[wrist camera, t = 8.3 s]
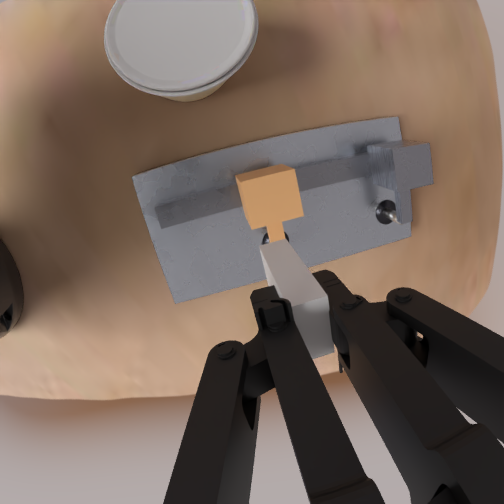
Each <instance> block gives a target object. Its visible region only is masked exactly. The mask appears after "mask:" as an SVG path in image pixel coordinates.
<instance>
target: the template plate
mask: <svg viewBox="0 0 504 504" xmlns="http://www.w3.org/2000/svg"><path fill="white" fill-rule="evenodd" d="M279 164H284V165H286V166H289V167H291V168H294V169H295V173H296V178H297V183H298V188H299V193H300V198H301V203H302V208H303V213H304V216H302V217H298V218H295V219H291V220H287V221H283V222H282V224H283V229H284V234H285V238H286V240H287V241H288V242H289V244H290V245H291V246H292V248H293V249H294V250H295V252H296V253H297V254H298V256H299V257H300V258H301V260H302V261H303V262H304V264H305V265H306V267H307V268H308V267H311V266H315V265H318V264H322V263H325V262H329V261H332V260H335V259H339V258H342V257H345V256H349V255H352V254H355V253H359V252H362V251H365V250H369V249H372V248H375V247H379V246H382V245H385V244H388V243H391V242H395V241H398V240H401V239H404V238H407V237H411V222H412V221H413V220H412V205H411V193H410V189H414V188H418V187H422V186H426V185H431V184H434V183H433V171H432V161H431V152H430V144H429V143H425V142H417V141H408V140H402V137H401V130H400V124H399V119H398V117H383V118H376V119H368V120H361V121H355V122H348V123H342V124H336V125H330V126H324V127H319V128H313V129H308V130H303V131H297V132H292V133H288V134H283V135H278V136H273V137H269V138H264V139H260V140H256V141H251V142H247V143H243V144H239V145H235V146H231V147H227V148H223V149H219V150H215V151H212V152H208V153H204V154H201V155H197V156H193V157H190V158H186V159H183V160H180V161H176V162H173V163H170V164H166V165H163V166H160V167H157V168H153V169H150V170H147V171H144V172H141V173H138V174H135V175H134V176H132V180H133V184H134V187H135V190H136V193H137V197H138V200H139V203H140V206H141V209H142V212H143V215H144V218H145V221H146V224H147V227H148V230H149V233H150V236H151V239H152V242H153V245H154V248H155V251H156V253H157V256H158V259H159V262H160V265H161V267H162V270H163V273H164V275H165V278H166V281H167V283H168V286H169V289H170V291H171V294H172V296H173V299H174V302H175V304H176V303H180V302H184V301H188V300H192V299H196V298H199V297H203V296H207V295H211V294H214V293H218V292H222V291H226V290H229V289H233V288H237V287H240V286H244V285H248V284H251V283H255V282H259V281H262V280H266V279H267V278H266V274H265V269H264V265H263V261H262V257H261V253H260V248H259V246H260V245H264V244H268V243H269V237H268V232H267V228H266V226H264V227H261V228H257V229H253V230H252V229H251V227H250V225H249V223H248V221H247V219H246V217H245V213H244V209H243V205H242V201H241V197H240V193H239V189H238V185H237V181H236V177H235V175H238V174H242V173H246V172H250V171H254V170H258V169H262V168H266V167H270V166H275V165H279Z"/></svg>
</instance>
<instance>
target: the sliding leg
mask: <svg viewBox="0 0 504 504" xmlns="http://www.w3.org/2000/svg"><path fill="white" fill-rule="evenodd" d="M235 177H236V181H237V185H238V189H239V193H240V197H241V201H242V205H243V209H244V213H245V217H246V219H247V221H248V223H249V225H250V227H251V229H252V230H253V229H257V228H261V227H264V226H266V228H267V232H268V237H269V243H271V242H275V241H279V240H283V239H286V238H285V234H284V229H283V224H282V222H283V221H287V220H291V219H295V218H298V217H302V216H304V213H303V208H302V203H301V198H300V193H299V188H298V183H297V178H296V173H295V169H294V168H291V167H289V166H286V165H284V164H279V165H275V166H270V167H266V168H262V169H258V170H254V171H250V172H246V173H242V174H238V175H235Z"/></svg>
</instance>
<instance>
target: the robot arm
mask: <svg viewBox="0 0 504 504" xmlns="http://www.w3.org/2000/svg"><path fill="white" fill-rule="evenodd" d="M259 248H260V253H261V257H262V261H263V265H264V269H265V274H266V278H267V282H268V287H265V288H261V289H258V290H254V291H253V292H252V294H251V296H250V299H251V302H252V306H253V310H254V313H255V317H256V321H257V324H258V328H259V331H258V334H257V335H256V336H255V337H254V338H253V339H252V340H251V341H249V342H248V343H246V344H244V345H243V344H242V343H241V342H238V341H225V342H222V343H219V344H217V345H216V346H214V347H213V348H212V349H211V350H210V352H209V354H208V357H207V360H206V364H205V367H204V370H203V373H202V376H201V380H200V383H199V386H198V390H197V393H196V396H195V399H194V403H193V406H192V409H191V413H190V416H189V419H188V422H187V426H186V429H185V432H184V435H183V439H182V442H181V446H180V449H179V452H178V456H177V459H176V462H175V465H174V469H173V472H172V476H171V479H170V482H169V486H168V489H167V492H166V496H165V499H164V503H163V504H249V498H250V490H251V482H252V474H253V465H254V457H255V448H256V439H257V430H258V421H259V412H260V403H261V397H260V395H262V394H264V393H265V392H267V391H269V390H271V389H273V388H276V392H277V395H278V398H279V402H280V405H281V409H282V412H283V415H284V419H285V422H286V426H287V429H288V432H289V436H290V439H291V442H292V446H293V449H294V452H295V456H296V459H297V462H298V465H299V469H300V472H301V476H302V479H303V482H304V486H305V489H306V492H307V495H308V498H309V501H310V504H385V502H384V500H383V498H382V496H381V494H380V491H379V489H378V488H377V486H376V484H375V482H374V481H373V480H372V479H370V478H368V477H367V476H366V474H365V472H364V470H363V468H362V465H361V463H360V461H359V459H358V457H357V454H356V452H355V450H354V448H353V446H352V444H351V442H350V439H349V437H348V435H347V433H346V431H345V428H344V426H343V424H342V422H341V420H340V418H339V415H338V413H337V411H336V409H335V407H334V405H333V402H332V400H331V398H330V396H329V394H328V392H327V390H326V387H325V385H324V383H323V381H322V379H321V377H320V374H319V372H318V370H317V368H316V366H315V364H314V362H313V360H312V359H315V358H318V357H321V356H324V355H327V354H330V353H334V344H335V346H336V347H337V350H338V361H339V370H340V373H342V372H343V370H342V368H344V370H345V372H346V373H347V375H348V377H349V379H350V381H351V383H352V384H353V386H354V388H355V390H356V392H357V393H358V395H359V397H360V399H361V401H362V403H363V404H364V406H365V408H366V410H367V412H368V413H369V415H370V417H371V419H372V421H373V423H374V425H375V426H376V428H377V430H378V432H379V434H380V436H381V437H382V439H383V441H384V443H385V445H386V447H387V449H388V450H389V453H390V454H391V456H392V458H393V460H394V462H395V464H396V466H397V468H398V470H399V471H400V473H401V475H402V477H403V479H404V481H405V483H406V485H407V486H408V489H409V491H410V497H411V504H504V448H503V446H502V445H501V443H500V442H499V441H498V440H497V439H499V440H500V441H502V442H503V443H504V337H502V336H500V335H498V334H497V333H495V332H493V331H491V330H489V329H488V328H486V327H484V326H482V325H480V324H478V323H477V322H475V321H473V320H471V319H469V318H467V317H465V316H464V315H462V314H460V313H458V312H456V311H454V310H452V309H451V308H449V307H447V306H445V305H443V304H441V303H439V302H437V301H435V300H433V299H432V298H430V297H428V296H426V295H424V294H422V293H420V292H418V291H416V290H414V289H411V288H404V287H401V288H396V289H394V290H391V291H390V292H389V293H388V294H387V297H386V301H384V302H376V303H369V302H368V301H367V300H366V299H365V298H363V297H362V296H359V295H353V294H352V293H351V292H350V291H349V290H348V289H347V287H346V286H345V285H344V284H343V283H342V282H341V280H340V279H338V277H337V276H336V275H335V274H334V273H333V272H331V271H328V270H322V271H319V272H315V273H311V272H310V271H309V269H308V268H307V267H306V265H305V264H304V262H303V261H302V260H301V258H300V257H299V256H298V254H297V253H296V252H295V250H294V249H293V248H292V246H291V245H290V244H289V242H288V241H287V240H286V239H283V240H279V241H275V242H271V243H268V244H264V245H260V246H259ZM22 308H23V289H22V283H21V279H20V275H19V272H18V269H17V267H16V264H15V262H14V260H13V258H12V256H11V254H10V253H9V251H8V249H7V248H6V246H5V245H4V244H3V242H2V241H1V240H0V338H2V337H4V336H5V335H6V334H8V333H9V332H10V330H11V329H12V328H13V326H14V325H15V324H16V323H17V321H18V320H19V318H20V315H21V312H22ZM417 332H419V333H420V334H422V335H423V338H420V337H419V336H417ZM333 342H334V343H333ZM456 407H457V408H458V409H460V410H461V411H462V412H464V413H465V414H466V415H467V416H469V417H470V418H471V419H473V420H474V421H475V422H477V424H473V425H472V424H470V423H469V422H468V421H467V420H466V419H465V418H464V416H463V415H462V414H461V413H460V411H459V410H458V409H457V408H456Z"/></svg>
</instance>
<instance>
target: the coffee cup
mask: <svg viewBox="0 0 504 504" xmlns="http://www.w3.org/2000/svg"><path fill="white" fill-rule="evenodd" d="M257 34H258V14H257V10H256V7H255V4H254V2H253V0H117V1H116V2H115V4H114V6H113V7H112V9H111V11H110V13H109V16H108V18H107V21H106V25H105V31H104V45H105V51H106V55H107V57H108V60H109V62H110V64H111V65H112V67H113V69H114V70H115V71H116V73H117V74H118V75H119V76H120V77H121V78H122V79H123V80H124V81H126V82H127V83H128V84H130V85H131V86H133V87H135V88H137V89H139V90H141V91H143V92H146V93H149V94H153V95H158V96H162V97H165V98H167V99H171V100H174V101H181V102H191V101H197V100H200V99H203V98H205V97H207V96H209V95H211V94H212V93H214V92H215V91H216V90H218V89H219V88H220V87H221V86H222V85H223V84H224V83H225V82H226V80H227V79H228V78H229V77H231V76H232V75H233V74H234V73H235V72H237V71H238V70H239V68H240V67H241V66H242V65H243V64H244V63H245V61H246V60H247V59H248V57H249V55H250V54H251V52H252V50H253V48H254V45H255V42H256V39H257Z"/></svg>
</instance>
